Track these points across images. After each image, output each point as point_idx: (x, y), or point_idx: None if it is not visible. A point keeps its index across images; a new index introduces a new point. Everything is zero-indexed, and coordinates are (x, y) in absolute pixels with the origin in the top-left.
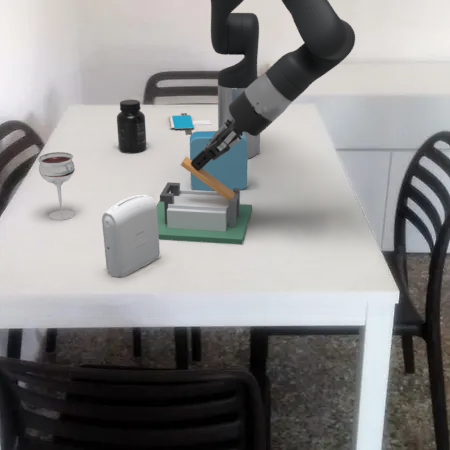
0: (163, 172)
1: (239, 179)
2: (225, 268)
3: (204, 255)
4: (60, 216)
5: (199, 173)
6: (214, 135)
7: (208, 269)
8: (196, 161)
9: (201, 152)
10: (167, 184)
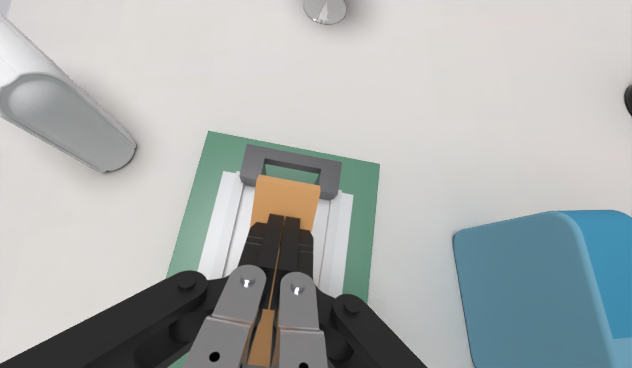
0: (543, 169)
1: (490, 362)
2: (19, 323)
3: (102, 270)
4: (312, 2)
5: None
6: (230, 353)
7: (26, 281)
8: (248, 234)
9: (259, 255)
10: (326, 161)
